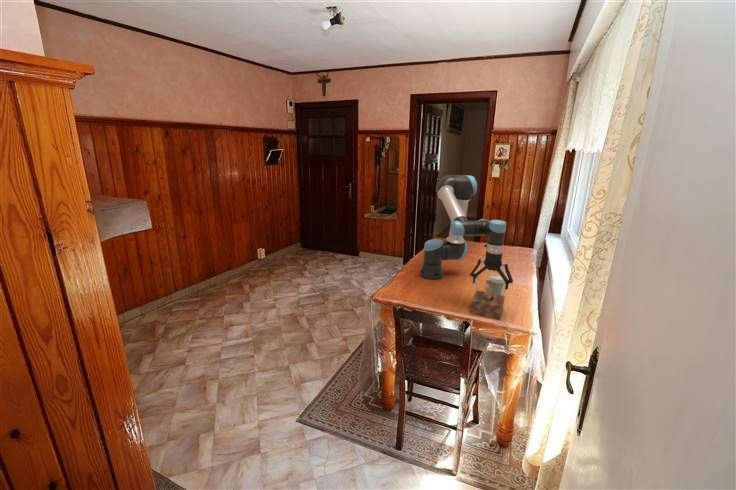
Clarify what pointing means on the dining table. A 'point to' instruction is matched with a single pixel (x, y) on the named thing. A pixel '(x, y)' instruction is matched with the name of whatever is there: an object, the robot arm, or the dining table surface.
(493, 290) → the coffee cup
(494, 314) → the bore block
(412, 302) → the dining table surface
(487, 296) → the dowel
